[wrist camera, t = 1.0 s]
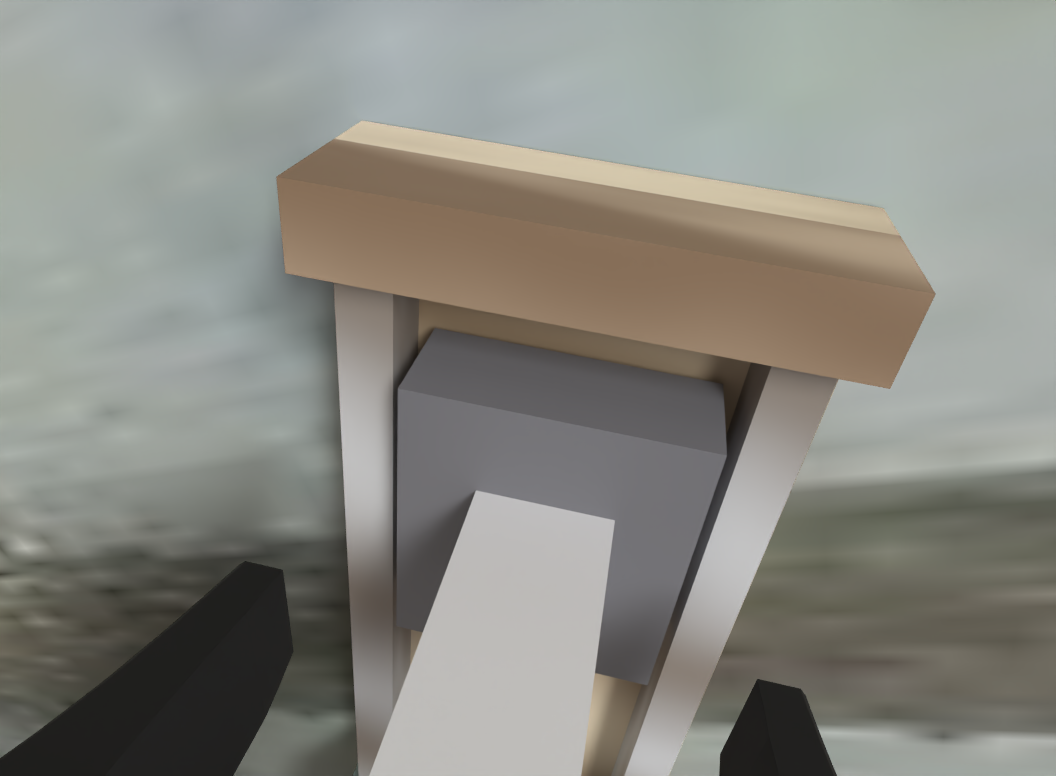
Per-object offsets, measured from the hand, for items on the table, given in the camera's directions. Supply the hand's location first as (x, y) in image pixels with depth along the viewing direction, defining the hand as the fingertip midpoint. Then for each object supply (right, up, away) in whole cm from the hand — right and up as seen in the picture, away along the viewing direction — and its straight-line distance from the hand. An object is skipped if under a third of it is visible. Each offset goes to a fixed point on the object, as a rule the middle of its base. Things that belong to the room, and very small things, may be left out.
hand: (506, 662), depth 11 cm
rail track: (+1, -2, +8) cm, 8 cm away
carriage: (+1, +2, +4) cm, 4 cm away
